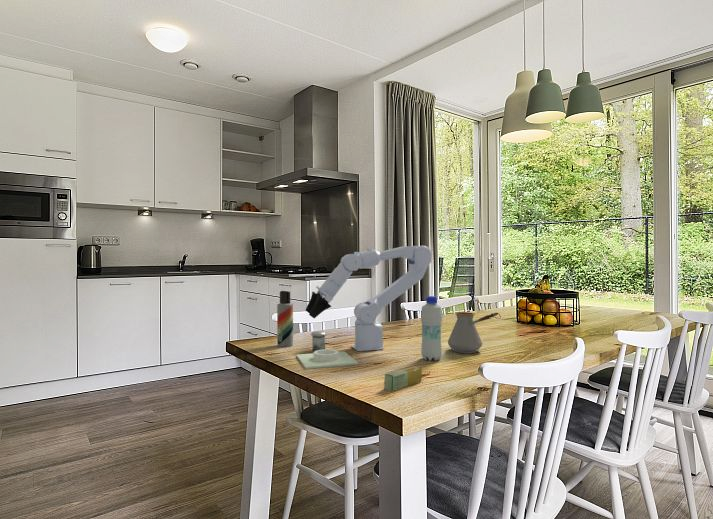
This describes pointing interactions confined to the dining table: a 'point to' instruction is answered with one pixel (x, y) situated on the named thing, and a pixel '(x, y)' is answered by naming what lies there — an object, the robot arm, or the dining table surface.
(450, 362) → the dining table surface
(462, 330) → the coffee pot
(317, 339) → the silver canister
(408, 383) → the medication box
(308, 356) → the duct flange
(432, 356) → the bottle
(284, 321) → the lotion bottle
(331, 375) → the dining table surface
